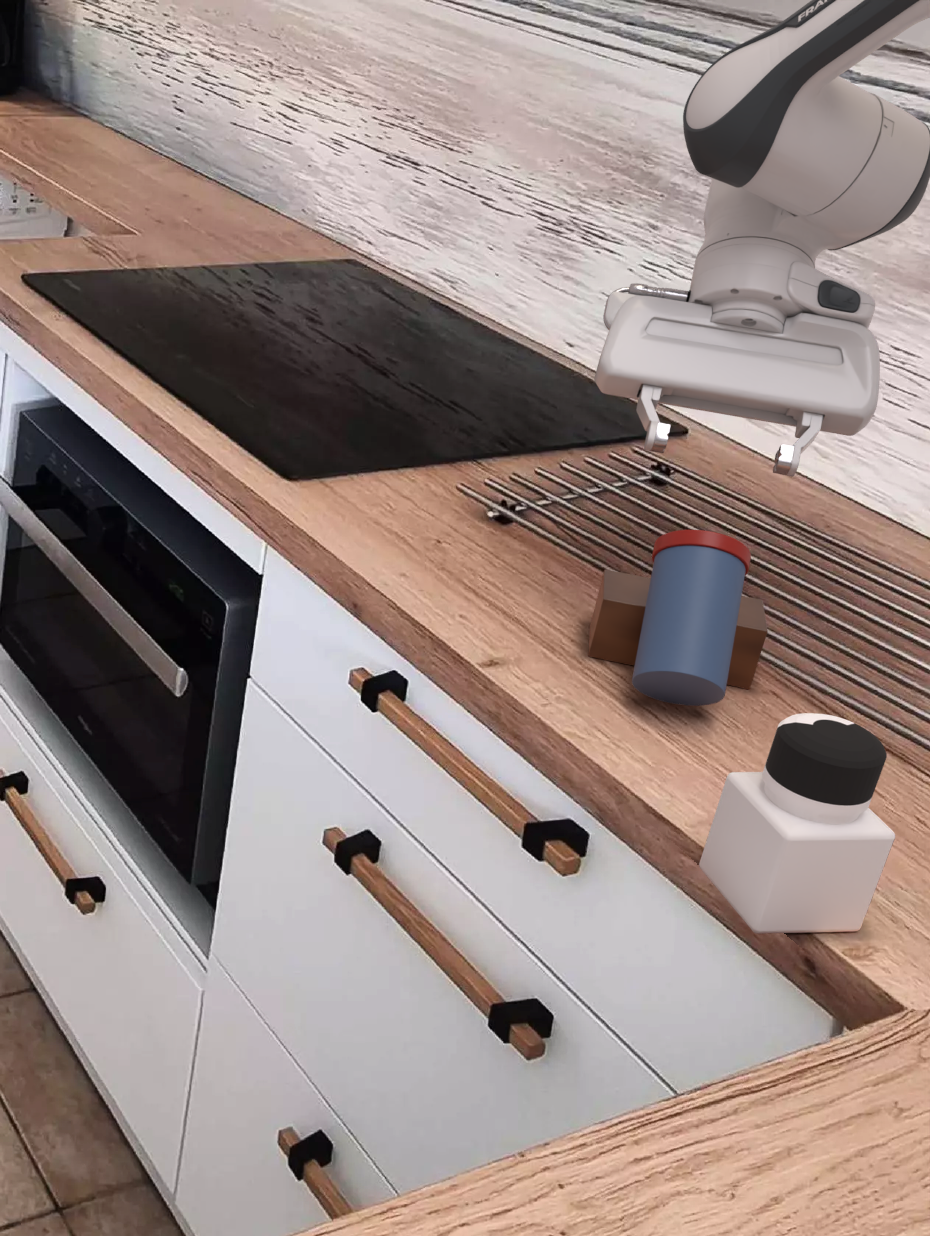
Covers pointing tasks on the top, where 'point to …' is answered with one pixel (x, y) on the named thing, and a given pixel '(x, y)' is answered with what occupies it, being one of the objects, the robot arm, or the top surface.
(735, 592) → the container
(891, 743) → the top surface
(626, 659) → the block
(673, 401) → the robot arm
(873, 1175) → the top surface
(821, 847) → the medicine bottle
